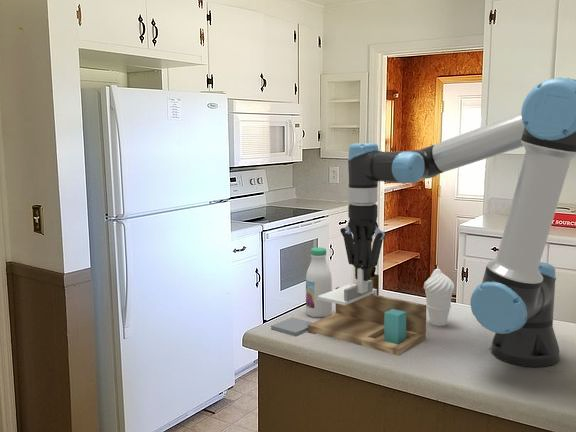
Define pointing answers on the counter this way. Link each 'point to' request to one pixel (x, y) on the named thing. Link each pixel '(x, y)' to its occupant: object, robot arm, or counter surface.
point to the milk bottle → (318, 284)
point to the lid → (347, 294)
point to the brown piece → (373, 323)
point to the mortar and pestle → (374, 279)
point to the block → (395, 326)
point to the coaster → (292, 326)
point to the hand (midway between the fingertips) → (362, 291)
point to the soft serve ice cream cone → (438, 297)
